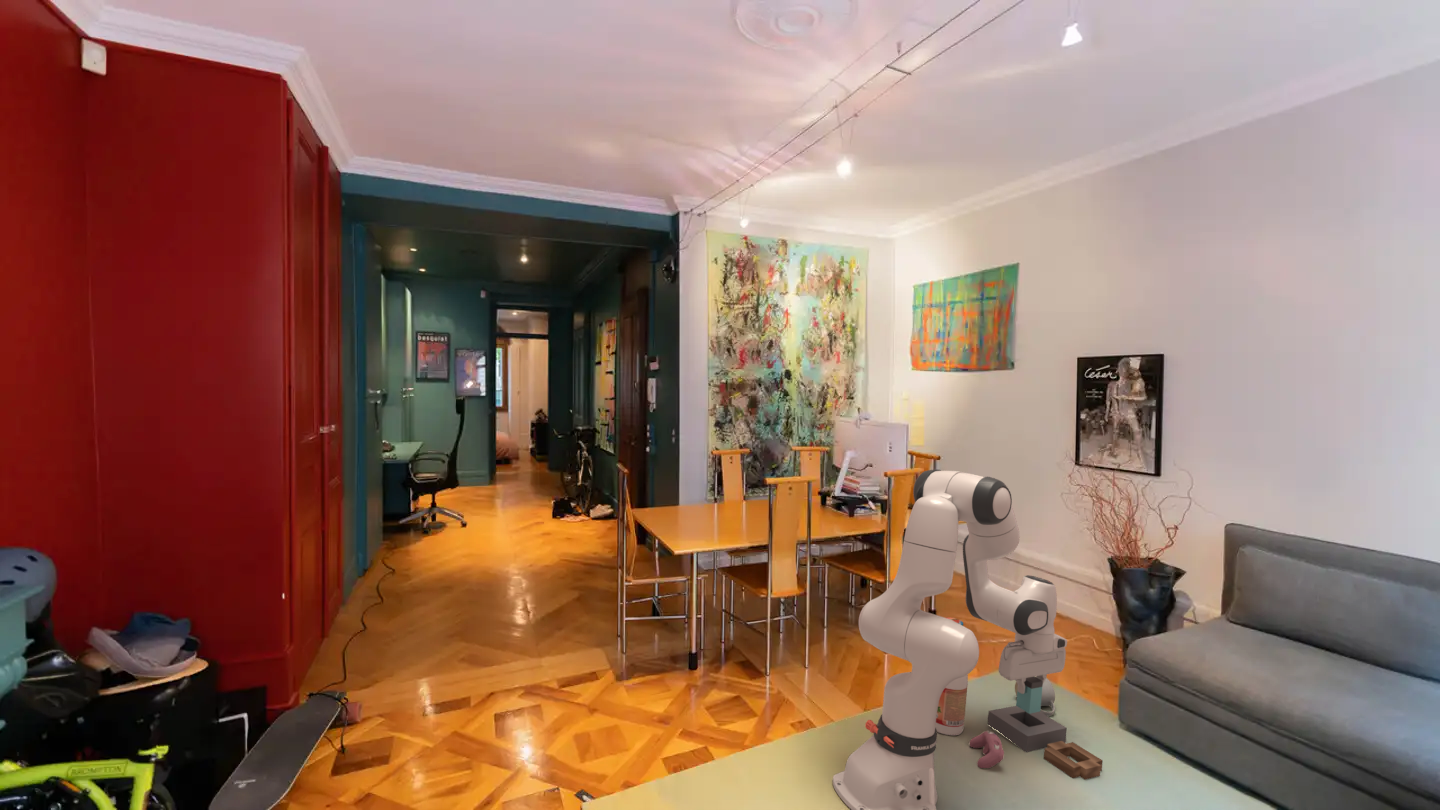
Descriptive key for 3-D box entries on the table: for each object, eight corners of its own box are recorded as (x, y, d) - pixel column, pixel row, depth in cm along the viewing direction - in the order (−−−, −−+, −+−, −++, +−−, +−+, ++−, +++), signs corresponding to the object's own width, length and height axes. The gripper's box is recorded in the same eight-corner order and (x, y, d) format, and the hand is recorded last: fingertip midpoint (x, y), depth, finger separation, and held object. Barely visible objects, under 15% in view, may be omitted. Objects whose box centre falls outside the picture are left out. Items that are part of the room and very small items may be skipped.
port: (1026, 752, 146) (1027, 735, 146) (987, 725, 157) (988, 709, 157) (1065, 743, 151) (1067, 726, 151) (1025, 718, 163) (1026, 702, 162)
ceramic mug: (1011, 697, 174) (1014, 671, 174) (1036, 696, 175) (1038, 671, 175) (1036, 718, 164) (1039, 690, 163) (1062, 717, 165) (1065, 690, 165)
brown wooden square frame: (1077, 781, 136) (1078, 771, 136) (1039, 755, 145) (1040, 745, 145) (1106, 773, 140) (1107, 763, 140) (1067, 749, 149) (1068, 739, 149)
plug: (1029, 713, 152) (1031, 683, 152) (1016, 705, 155) (1018, 675, 155) (1040, 711, 153) (1042, 681, 153) (1026, 703, 157) (1029, 673, 157)
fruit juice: (961, 741, 149) (971, 631, 148) (922, 728, 153) (931, 621, 153) (965, 723, 157) (974, 619, 156) (928, 712, 162) (937, 611, 161)
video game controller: (994, 778, 137) (1011, 754, 136) (976, 766, 138) (992, 742, 137) (983, 753, 147) (999, 731, 146) (966, 742, 147) (982, 720, 147)
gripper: (1015, 648, 147) (1010, 703, 147) (1072, 639, 155) (1067, 691, 155) (994, 637, 153) (990, 690, 153) (1050, 630, 161) (1045, 680, 161)
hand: (1029, 691), depth 154 cm, fingers closed on plug, 4 cm apart
